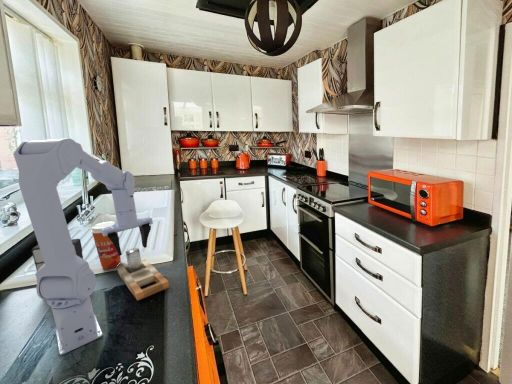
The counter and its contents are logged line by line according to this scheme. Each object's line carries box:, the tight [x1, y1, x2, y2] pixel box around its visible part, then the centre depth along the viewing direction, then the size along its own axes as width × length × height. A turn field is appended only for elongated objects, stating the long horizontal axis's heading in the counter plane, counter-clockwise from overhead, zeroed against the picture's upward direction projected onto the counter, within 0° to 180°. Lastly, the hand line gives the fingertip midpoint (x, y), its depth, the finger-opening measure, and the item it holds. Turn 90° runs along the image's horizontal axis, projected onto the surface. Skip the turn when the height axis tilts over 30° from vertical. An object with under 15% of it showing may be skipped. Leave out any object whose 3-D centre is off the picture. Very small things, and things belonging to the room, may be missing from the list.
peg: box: [125, 247, 143, 274], centre depth 87 cm, size 4×4×8 cm
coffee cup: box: [90, 220, 122, 270], centre depth 93 cm, size 8×8×15 cm
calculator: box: [31, 238, 84, 272], centre depth 78 cm, size 11×4×15 cm, turn 105°
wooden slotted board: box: [116, 259, 170, 302], centre depth 83 cm, size 20×9×2 cm, turn 40°
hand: (132, 250), depth 86 cm, fingers open, 7 cm apart
